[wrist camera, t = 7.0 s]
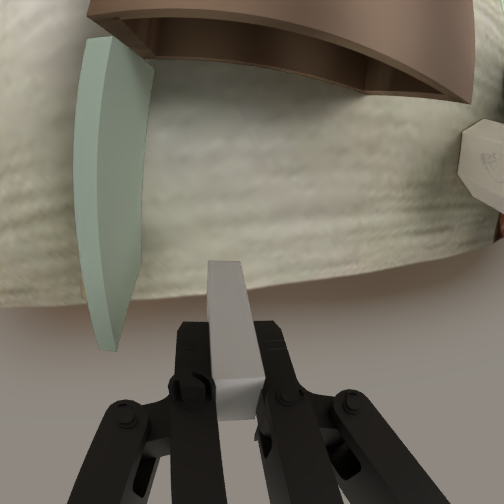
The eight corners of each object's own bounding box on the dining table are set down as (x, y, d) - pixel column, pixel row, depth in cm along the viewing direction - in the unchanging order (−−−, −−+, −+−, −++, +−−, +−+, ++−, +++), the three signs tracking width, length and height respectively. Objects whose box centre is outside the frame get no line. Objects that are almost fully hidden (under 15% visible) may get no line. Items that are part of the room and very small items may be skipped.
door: (117, 69, 13) (50, 45, 6) (155, 68, 14) (112, 36, 6) (110, 260, 20) (72, 345, 12) (141, 262, 20) (116, 351, 13)
